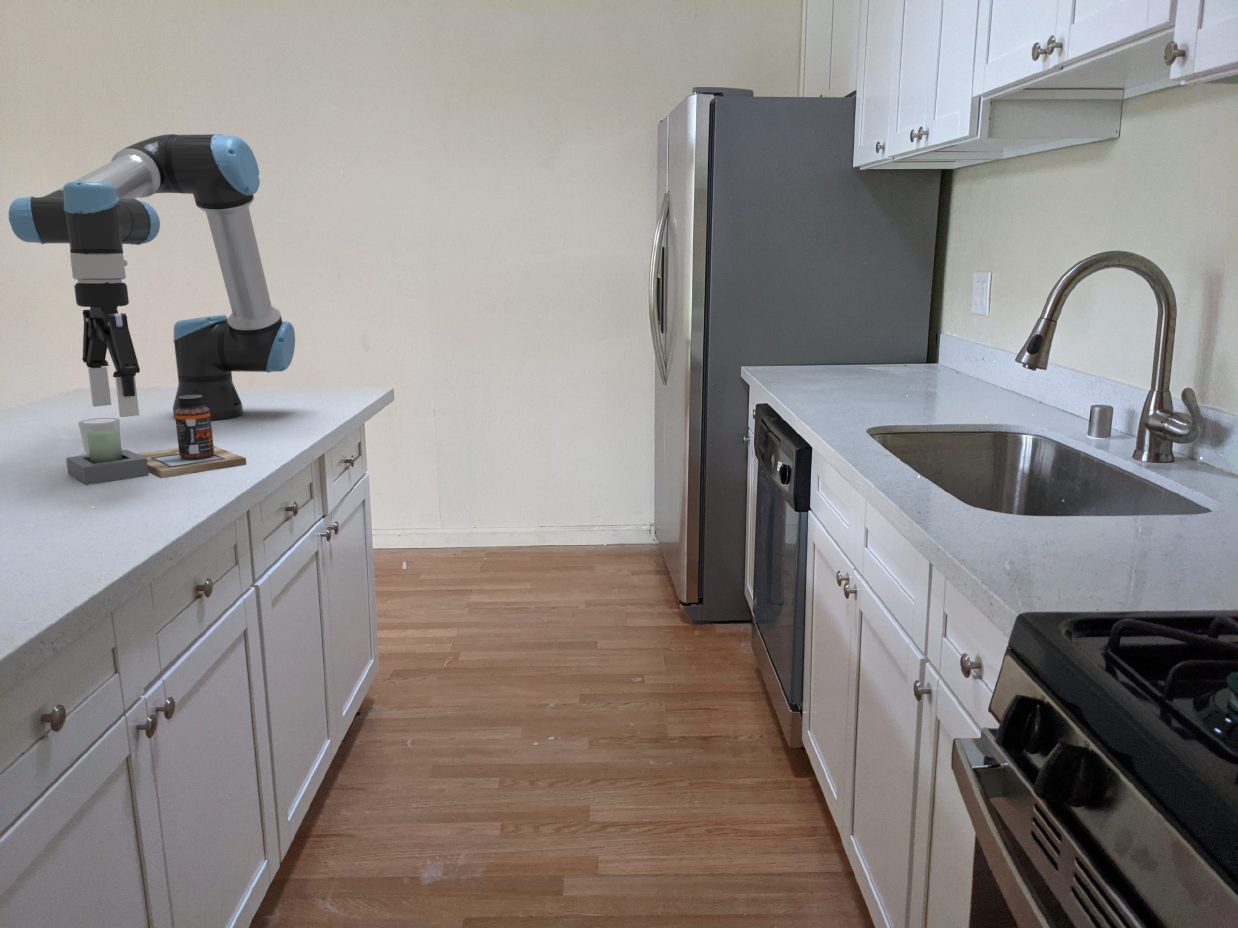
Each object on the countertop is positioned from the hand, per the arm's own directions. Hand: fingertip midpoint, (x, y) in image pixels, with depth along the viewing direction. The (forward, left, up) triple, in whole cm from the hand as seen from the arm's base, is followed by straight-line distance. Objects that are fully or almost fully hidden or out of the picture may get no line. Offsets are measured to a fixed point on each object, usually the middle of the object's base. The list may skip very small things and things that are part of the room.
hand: (115, 410), depth 154 cm
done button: (-8, 0, -10) cm, 13 cm away
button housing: (-8, 0, -12) cm, 15 cm away
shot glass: (-24, +4, -13) cm, 27 cm away
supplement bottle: (-7, +15, -11) cm, 20 cm away
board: (-8, +14, -12) cm, 20 cm away
